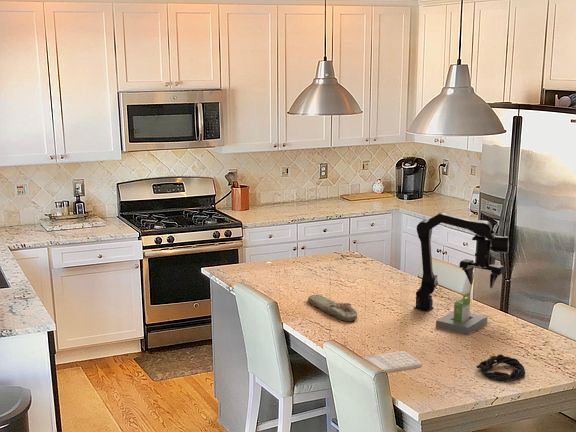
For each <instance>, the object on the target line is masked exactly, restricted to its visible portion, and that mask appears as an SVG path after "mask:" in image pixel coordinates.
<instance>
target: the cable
mask: <svg viewBox="0 0 576 432" xmlns="http://www.w3.org/2000/svg"><path fill="white" fill-rule="evenodd" d="M500 364H505V365H507V366H510V367H512V366H513V367H512V368H513V369H512V371H511V372H510V374H509V373H506V372H502V371H497V370H494V371H491V369H492V368H493V367H495V366H498V365H500ZM514 367H515V368H514ZM475 368H476V369H480V371H481V373H483V375H484V377H486V378H487V377H488V378H489V380H495V381H499V380H500V381H499V382H502V381H504V382H507V381H512V380H515V379H520V378H519V377H521V378H523V377H524V376H525V375H526V370H525V366H524V365H523V364H521V362H520V361H519V360H518V359H517V358H515V357H510V356H505V355H503V354H497V355H492V356H490V357H489V358H487V359H486V360H483V361H481V362H480V363H479V364H478V365H476V367H475ZM488 378H487V379H488Z"/></svg>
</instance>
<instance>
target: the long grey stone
mask: <svg viewBox="0 0 576 432" xmlns="http://www.w3.org/2000/svg"><path fill="white" fill-rule="evenodd" d="M307 301H308V303H310V304H311V305H312V306H314V307H315V308H316V309H318V310H320V311H321V312H323V313H326V314H328V315H329V316H331V317H332V318H333V317H334V318H336V320H341V321H346V322H353V321H355V320H357V319H358V312H357V310H356V309H354V308H353V307H352V304H351V303H350V302H345V303H344V302H336V301H333V300H332V299H329V298H327V297H324V296H323V295H322V294H312V295H309V296H308V298H307Z"/></svg>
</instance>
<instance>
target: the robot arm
mask: <svg viewBox="0 0 576 432" xmlns="http://www.w3.org/2000/svg"><path fill="white" fill-rule="evenodd" d="M440 224H445V225H449V226H454V227H457V228H461V229H464V230H468V231H470V232H471V233H474V234H475V235H474V236H473V237H472V238H471V240H472V241H476V248H475V253H474V257H475V262H474V260H473V259H467V258H464V259H463V260H461V261H460V262H459V265H458V266H459V268H460V269H461V271H464V273H465V275H466V277H467V279H468V282H469V284H470V285H473V279H474V275H473V274H474V269H481V270H486V271H490V272H491V273H490V276H489V288H490V289H492V288H494V285H495V282H496V281H497V279H498V277H499V276H500V275H503V274H505V273H506V266H505V265H503V264H496V260H497V257H495V256H493V255H492V252H491V250H492V251H494V253H504V254H507V253H509V249H510V248H509V247H510V240H509V236H497V234H496V233H495V231H494V230H493V225H492V223H491V222H490V221H488V220H485V219H483V220H482V219H468V218H466V217H465V218H464V217H462V216H461V217H460V216H457V215H452V214H449V213H445V212H443V211H442V212H439V213H437V214H436V215H434V216H432V217H430V218H429V219H423V220H421V221H420V222H419V223H418V224H417V225H416V233H417V237H418V239H419V241H420V249H421V250H420V251H421V264H422V265H421V266H422V278H421V284H420V287H419V288H418V289H417V291H416V292H415V306H414V307H413V309H414V310H416V311H417V310H418V311H422V312H428V311H431V310H433V309H434V305H433V302H434V300H433V295H431V294H433V293H434V292H435V290H436V289H437V286H438V285H439V282H438V274H436V275H435V274H434V271H433V269H434V268H433V259H432V257H433V256H432V245H431V242H432V241H431V240H432V234H433V229H434V228H435V227H437V226H438V225H440Z"/></svg>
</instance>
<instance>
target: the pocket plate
mask: <svg viewBox="0 0 576 432" xmlns="http://www.w3.org/2000/svg"><path fill="white" fill-rule="evenodd" d="M453 319H454V310H453V311H451V312H450V313H448V314H445V315H444V316H442V317H440V318H438V319H436V320H435V328H438V329H442V330H446V331H450V332H454V333H457V334H461V335H466V336H468V335H470V334H472V333H473V332H475V331H476V330H478V329H480V328H482V327H484V326H485V325H487V324H488V315H487V316H486V315H482V314H478V313H472V312H470V316H469V320H468V321H466V322H464V323H462V322H458V321H454V320H453Z"/></svg>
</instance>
